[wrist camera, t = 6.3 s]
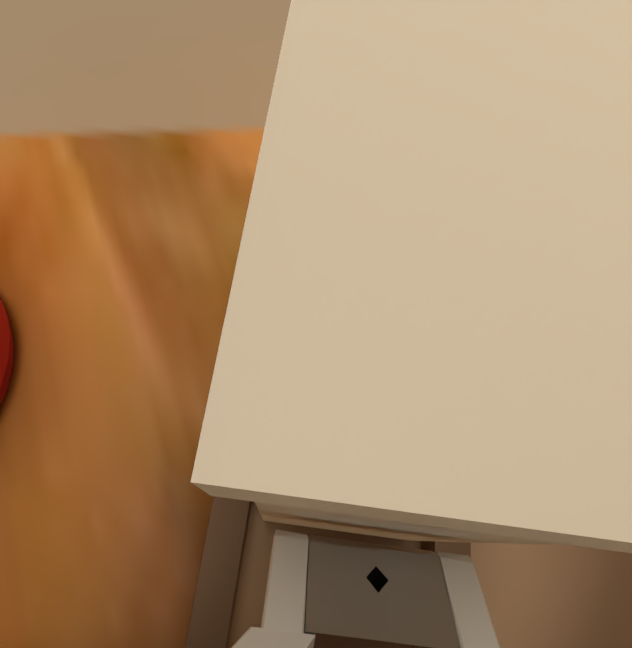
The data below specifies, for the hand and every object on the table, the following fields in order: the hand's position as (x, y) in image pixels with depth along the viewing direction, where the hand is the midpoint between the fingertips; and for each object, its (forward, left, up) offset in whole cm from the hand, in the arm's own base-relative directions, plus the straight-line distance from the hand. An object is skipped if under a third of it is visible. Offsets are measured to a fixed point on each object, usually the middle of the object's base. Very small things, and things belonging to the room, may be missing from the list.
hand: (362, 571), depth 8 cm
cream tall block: (0, +2, -4) cm, 5 cm away
